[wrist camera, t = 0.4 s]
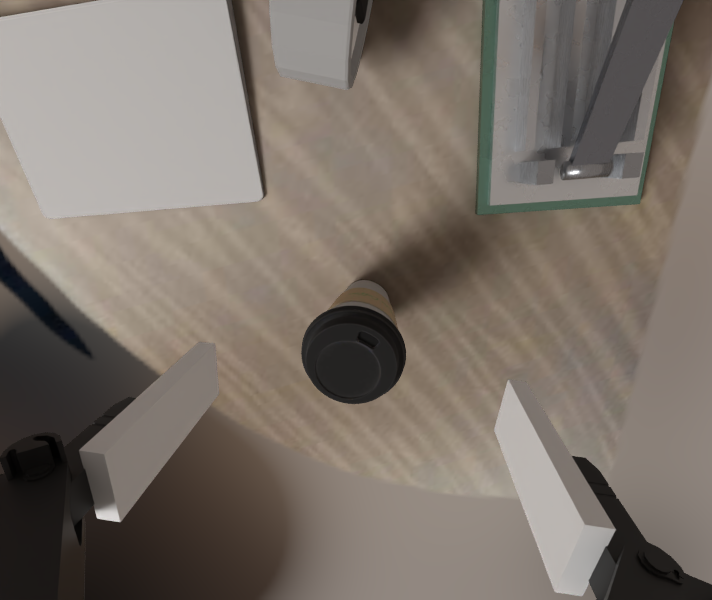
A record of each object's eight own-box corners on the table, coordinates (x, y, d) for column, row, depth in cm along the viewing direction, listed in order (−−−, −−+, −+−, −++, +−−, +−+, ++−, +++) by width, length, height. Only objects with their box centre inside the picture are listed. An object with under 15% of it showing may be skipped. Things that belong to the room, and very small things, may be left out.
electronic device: (231, -11, 34) (222, -21, 33) (266, 200, 41) (260, 201, 39) (-20, 30, 38) (-41, 23, 36) (51, 218, 45) (36, 220, 43)
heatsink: (486, -98, 30) (516, -187, 23) (695, -135, 28) (805, -246, 20) (475, 213, 39) (494, 224, 31) (633, 202, 37) (694, 212, 29)
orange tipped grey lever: (664, -174, 18) (683, -177, 17) (778, -196, 17) (806, -200, 16) (550, 174, 32) (556, 185, 31) (609, 170, 32) (617, 181, 31)
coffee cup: (406, 269, 42) (412, 319, 28) (399, 339, 45) (401, 416, 31) (328, 263, 43) (295, 310, 29) (326, 333, 46) (297, 405, 32)
